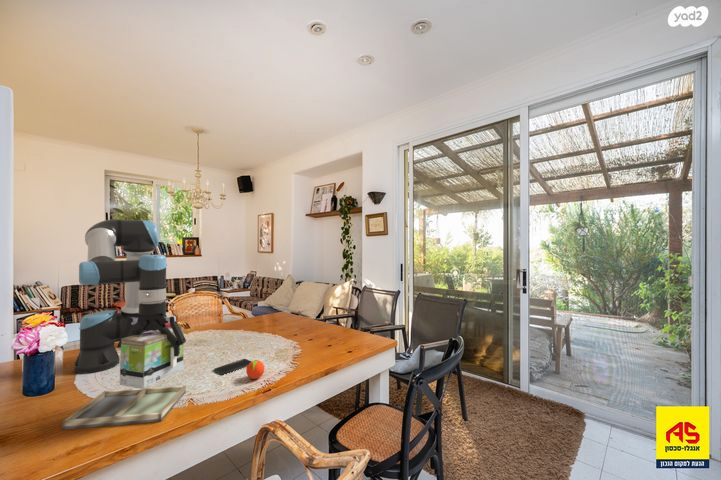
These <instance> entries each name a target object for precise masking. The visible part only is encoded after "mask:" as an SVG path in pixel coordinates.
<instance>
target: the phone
mask: <svg viewBox="0 0 721 480" xmlns="http://www.w3.org/2000/svg"><path fill="white" fill-rule="evenodd" d="M252 361H253V360H249V359H246V358H243V359H239V360H236V361H233V362H230V363H226V364H224V365H222V366H218V367H215V368H213V372H214V373H216V372H217V373H216V374H218V373H219V374H218V375H220V374H221V376H225V375H224V374H226V375H228V374H227V373H229V374H231V373H234V372H237V371H240V370H242V368H243V369H246V368H247V366H248V365H249V363H250V362H252ZM239 369H240V370H239ZM236 370H237V371H236ZM233 371H234V372H233ZM230 372H231V373H230Z"/></svg>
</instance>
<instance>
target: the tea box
mask: <svg viewBox="0 0 721 480" xmlns="http://www.w3.org/2000/svg"><path fill="white" fill-rule="evenodd" d="M168 329H169V330H170V331H171V333H170V334H173V335H174V336H175V334H174V332H173V330H172V328H168ZM180 329H181V331H182V333H183V335H184V334H185V331H184V330H185V329H184V328H180ZM184 336H185V335H184ZM175 337H176V336H175ZM184 344H185V343H184ZM184 344H182V345H180V354H179V355H178V356H177V365H175V366H174V367H173V368H171V347H173V345H172V344H171V343H170V342H169V341H168V339H167V335H166V334H162V333H161V332H160V331H159V330H156V331H152V330H150V331H147V332H143V333H141V334H139V335H133V336H129V337H125V338H122V339H121V348H120V359H119V364H120V365H119V371H120V372H119V385H120V386H122V387H123V386H124V387H130V388H133V389H145V388H147V387H149V386H150V385H153V384H154V383H157V382H159V381H162V380H164V379H166V378H169V377H171V376H173V375H175V374H176V375H177V374H178V373H180V372H182V371H183V370H184Z"/></svg>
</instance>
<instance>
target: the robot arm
mask: <svg viewBox="0 0 721 480" xmlns="http://www.w3.org/2000/svg"><path fill="white" fill-rule="evenodd" d="M84 242H85V244H86V246H87V261H82V262H80V263H79V264H78V282H79V284H80V285H82V286H87V285H88V286H91V285H92V286H97V285H107V284H109V285H110V284H119V283H120V284H122V283H123V284H124V283H125V304H124V305H123V306H122V307H121V309H120V312H116V311H115V310H113V309H108V310H107V309H106V310H100V311H96V312H93V313H89V314H86V315H84V316H83V317H81V319H80V322H79V328H78V329H79V352H78V355H77V357H76V360H75V363H74V365H73V372H74V373H76V374H90V373H91V374H92V373H98V372H102V371H105V370H110V369H112V368H113V367H114V368H115V367H116V366H118V365H119V364H120V355H119V353H118V350H117V348H119V349H121V339H122V338H125V337H129V336H133V335H139V334H141V333H143V332H147V331H150V330H152V331H156V330H159V331H160V332H161V333H162V334H166V335H167V339H168V341H169V342H170V343H171V344H172V345H173V347H171V368H173V367H174V366H175V365H177V356H178V355H179V354H180V345H182V344H185V343H186V341H187V339H186V338H185V335H183V333H182V331H181V329H182V328H181V327H180V325H179V324H178V323H179V322H178V316H177V315H175V314H174V315H172V316H167V302H166V299H167V266H168V264H167V257H166V256H165V254H152V253H153V252H154V251H155V247H158V246H159V242H160V241H159V234H158V228H157V226H156V223H155V222H154V221H152V220H145V219H114V218H113V219H106V220H103V221H100V222H97V223H95V224H93V225H92V226H91V227H90V228H88V229H87V231H86V232H85V235H84ZM115 247H119V248H121V247H122V252H123V253H125V254H126V260H123V259H122V260H116V256H115V255H116V254H115V253H116V252H115ZM166 321H168V323H170V326H171V328H172V330H173V332H174V334H175V336H176V337H175V336H174V335H173V334H170V333H171V331H170V330H169V329H168V326H167V325H166V324H165V322H166ZM115 340H119V341H118V343H117V347H116V345H115V344H116V343H115ZM117 364H118V365H117Z"/></svg>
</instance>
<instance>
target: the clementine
mask: <svg viewBox="0 0 721 480" xmlns="http://www.w3.org/2000/svg"><path fill="white" fill-rule="evenodd" d="M251 361H252V362H250V363H249V365H248V366H247V367H246V368H245V369H246V373H245V374H246V375H247V377H248V378H250V379H252V380H256V379H257V380H258V379H259V378H261V377H262V376H263V375H264V373H265V365H264V363H263V362H262V361H261V360H259V359H257V360H256V359H255V360H251Z"/></svg>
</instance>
